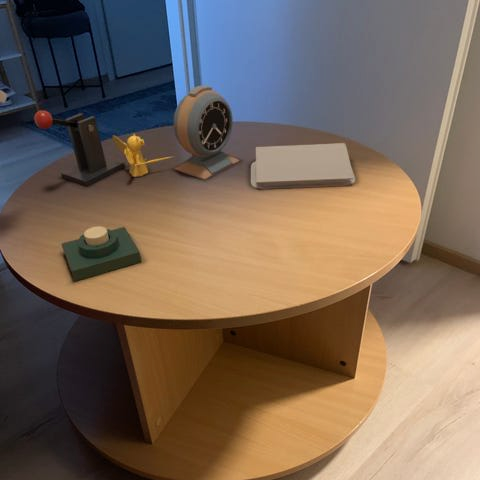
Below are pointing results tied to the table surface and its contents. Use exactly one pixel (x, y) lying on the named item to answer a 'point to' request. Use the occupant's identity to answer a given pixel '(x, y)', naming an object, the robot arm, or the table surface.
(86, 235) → the button
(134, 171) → the figurine
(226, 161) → the alarm clock
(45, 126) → the switch lever
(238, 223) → the table surface
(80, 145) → the switch bracket
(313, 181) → the book
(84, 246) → the control block
